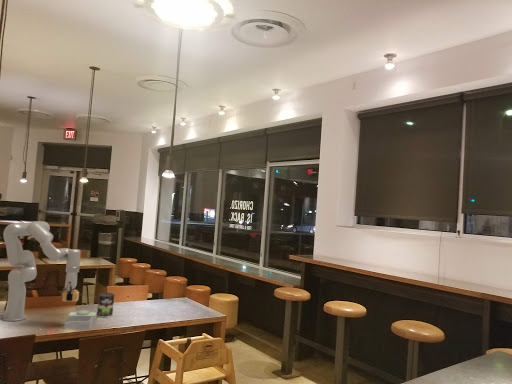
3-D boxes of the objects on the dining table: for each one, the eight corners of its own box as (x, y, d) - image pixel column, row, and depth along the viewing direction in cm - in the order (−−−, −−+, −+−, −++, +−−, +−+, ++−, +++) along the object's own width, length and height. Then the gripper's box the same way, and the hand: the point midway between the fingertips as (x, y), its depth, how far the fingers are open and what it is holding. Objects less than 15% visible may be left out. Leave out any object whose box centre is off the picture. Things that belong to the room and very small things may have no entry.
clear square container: (64, 328, 238) (65, 321, 238) (69, 321, 252) (70, 315, 252) (89, 328, 241) (90, 321, 242) (93, 322, 255) (94, 315, 256)
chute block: (62, 301, 241) (63, 291, 242) (64, 299, 246) (65, 289, 246) (76, 301, 243) (77, 291, 243) (78, 299, 248) (79, 289, 248)
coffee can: (113, 317, 269) (115, 296, 270) (97, 317, 265) (98, 296, 265) (112, 312, 279) (113, 292, 279) (96, 313, 274) (98, 292, 275)
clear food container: (67, 322, 251) (68, 313, 252) (70, 318, 260) (71, 309, 261) (94, 322, 255) (94, 313, 255) (96, 318, 264) (97, 310, 264)
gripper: (69, 267, 253) (67, 296, 252) (62, 271, 236) (59, 302, 235) (82, 267, 255) (80, 296, 254) (75, 271, 238) (73, 302, 237)
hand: (70, 299), depth 244 cm, fingers closed on chute block, 5 cm apart
